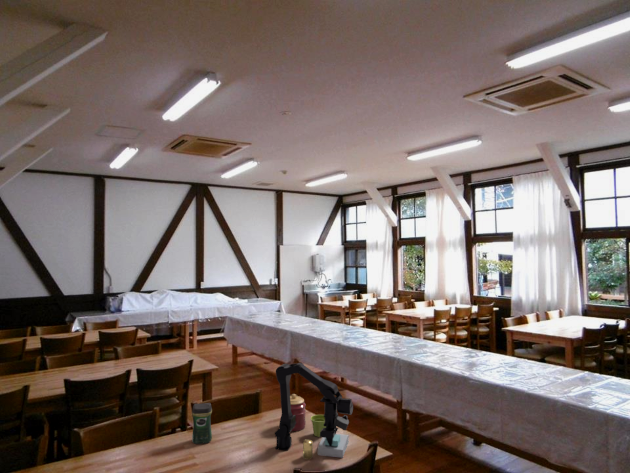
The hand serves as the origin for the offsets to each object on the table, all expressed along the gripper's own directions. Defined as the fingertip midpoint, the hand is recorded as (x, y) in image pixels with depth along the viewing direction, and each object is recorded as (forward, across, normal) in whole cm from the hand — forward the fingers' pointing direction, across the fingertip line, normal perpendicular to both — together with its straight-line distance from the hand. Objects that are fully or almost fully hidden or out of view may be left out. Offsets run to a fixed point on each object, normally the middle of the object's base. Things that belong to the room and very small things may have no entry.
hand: (330, 445), depth 203 cm
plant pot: (+5, +21, +10) cm, 24 cm away
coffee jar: (+5, -1, +66) cm, 66 cm away
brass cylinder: (+4, -4, +10) cm, 12 cm away
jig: (+4, +7, 0) cm, 9 cm away
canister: (+5, +28, +26) cm, 38 cm away
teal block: (+1, +5, 0) cm, 5 cm away
